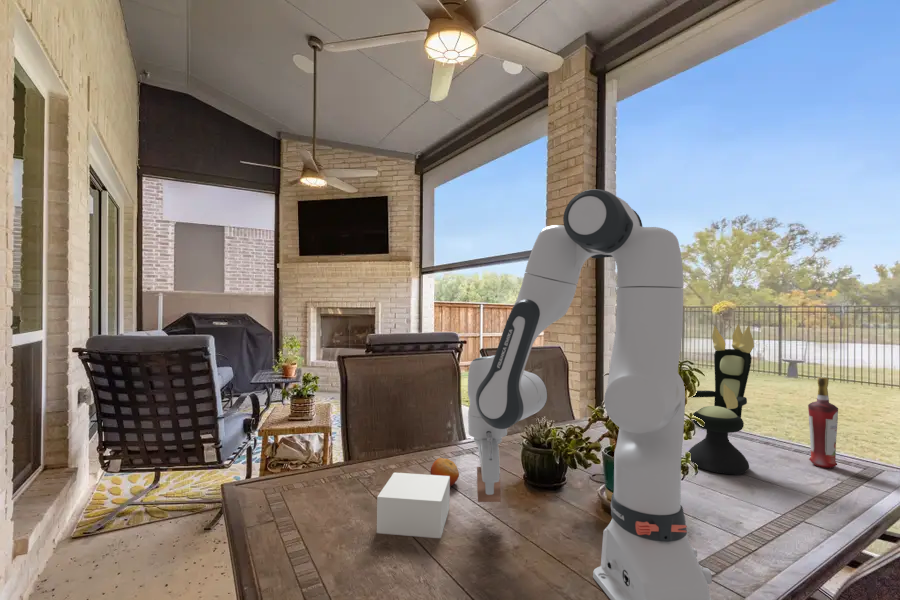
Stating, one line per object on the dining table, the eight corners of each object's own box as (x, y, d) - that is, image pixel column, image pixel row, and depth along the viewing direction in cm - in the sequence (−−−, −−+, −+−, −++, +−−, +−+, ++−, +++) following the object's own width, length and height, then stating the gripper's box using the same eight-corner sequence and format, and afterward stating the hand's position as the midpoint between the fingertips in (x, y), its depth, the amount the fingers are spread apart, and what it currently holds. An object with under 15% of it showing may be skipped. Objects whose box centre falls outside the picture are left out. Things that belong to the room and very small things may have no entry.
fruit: (427, 472, 125) (442, 449, 124) (450, 488, 123) (465, 465, 122) (420, 483, 117) (435, 459, 116) (444, 501, 115) (460, 476, 115)
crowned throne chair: (669, 459, 142) (670, 322, 143) (713, 451, 151) (714, 322, 152) (727, 480, 125) (727, 324, 126) (773, 469, 134) (773, 324, 135)
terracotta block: (500, 501, 96) (500, 474, 96) (478, 501, 96) (477, 474, 97) (498, 492, 101) (498, 466, 101) (477, 492, 101) (476, 466, 102)
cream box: (440, 539, 92) (441, 501, 92) (376, 534, 94) (377, 496, 94) (449, 509, 106) (449, 476, 106) (393, 504, 107) (393, 472, 108)
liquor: (813, 460, 143) (813, 375, 144) (842, 467, 137) (842, 378, 138) (804, 464, 140) (804, 377, 140) (833, 471, 133) (833, 380, 134)
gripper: (506, 439, 89) (507, 507, 88) (497, 416, 109) (498, 471, 109) (475, 439, 89) (476, 507, 89) (472, 416, 110) (473, 471, 109)
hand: (488, 487), depth 99 cm, fingers closed on terracotta block, 5 cm apart
